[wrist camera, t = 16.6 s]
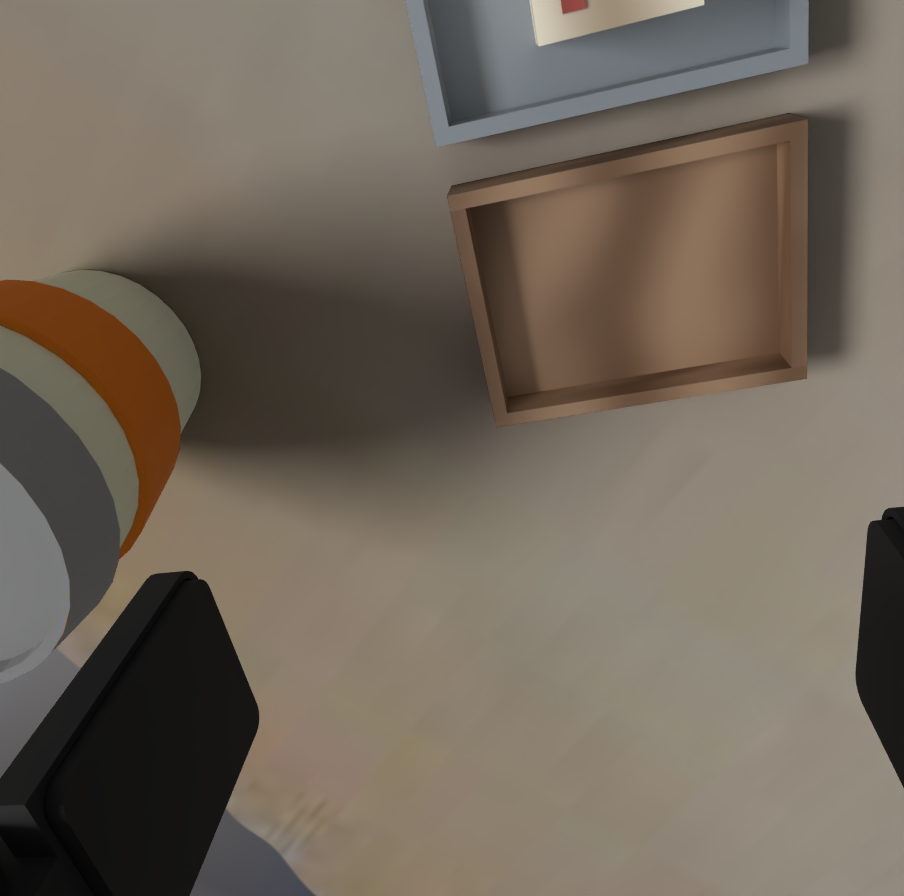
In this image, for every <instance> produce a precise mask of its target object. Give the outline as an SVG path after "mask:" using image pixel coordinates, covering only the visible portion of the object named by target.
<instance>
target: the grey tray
mask: <svg viewBox="0 0 904 896" xmlns="http://www.w3.org/2000/svg"><path fill="white" fill-rule="evenodd" d="M405 2H406V7H407V11H408V16H409V21H410V25H411V30H412V35H413V40H414V44H415V49H416V54H417V58H418V63H419V68H420V72H421V77H422V82H423V86H424V91H425V96H426V100H427V105H428V110H429V114H430V119H431V124H432V129H433V133H434V138H435V143H436V147H440V146H445V145H449V144H454V143H458V142H463V141H467V140H471V139H476V138H480V137H485V136H489V135H494V134H498V133H503V132H507V131H511V130H516V129H520V128H525V127H529V126H534V125H538V124H543V123H547V122H551V121H556V120H560V119H565V118H569V117H574V116H578V115H582V114H587V113H591V112H596V111H600V110H605V109H609V108H614V107H618V106H622V105H627V104H631V103H636V102H640V101H645V100H649V99H654V98H658V97H662V96H667V95H671V94H676V93H680V92H685V91H689V90H694V89H698V88H702V87H707V86H711V85H716V84H720V83H725V82H729V81H734V80H738V79H742V78H747V77H751V76H756V75H760V74H765V73H769V72H774V71H778V70H782V69H787V68H791V67H796V66H800V65H805V64H808V19H809V0H704V5H702V6H698V7H694V8H690V9H686V10H682V11H678V12H674V13H670V14H666V15H662V16H658V17H654V18H650V19H646V20H642V21H638V22H634V23H631V24H627V25H623V26H619V27H615V28H611V29H607V30H603V31H599V32H595V33H591V34H587V35H583V36H579V37H575V38H571V39H567V40H563V41H559V42H555V43H551V44H547V45H543V46H538V45H537V44H536V40H535V34H534V27H533V21H532V14H531V7H530V1H529V0H405Z"/></svg>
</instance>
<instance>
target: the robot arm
mask: <svg viewBox="0 0 904 896" xmlns="http://www.w3.org/2000/svg"><path fill="white" fill-rule="evenodd" d="M856 684H857V689H858V693H859V696H860V699H861V701H862V704H863V706H864V708H865V710H866V712H867V714H868V716H869V718H870V720H871V722H872V724H873V726H874V728H875V730H876V732H877V734H878V736H879V738H880V740H881V742H882V745H883V747H884V749H885V751H886V753H887V755H888V757H889V759H890V761H891V763H892V765H893V767H894V769H895V771H896V773H897V775H898V777H899V779H900V781H901V783H902V785H903V787H904V507H896V508H888V509H886V510H885V511H884V513H883V515H882V520H876V521H872V522H870V524H869V526H868V533H867V544H866V556H865V568H864V580H863V591H862V603H861V615H860V627H859V638H858V650H857V662H856ZM258 725H259V709H258V706H257V703H256V701H255V698H254V696H253V693H252V691H251V688H250V686H249V683H248V681H247V678H246V676H245V674H244V671H243V669H242V666H241V664H240V661H239V659H238V656H237V654H236V651H235V649H234V646H233V644H232V642H231V639H230V637H229V634H228V632H227V629H226V627H225V624H224V622H223V619H222V617H221V614H220V612H219V610H218V607H217V605H216V602H215V600H214V597H213V595H212V592H211V590H210V587H209V586H208V584H207V582H205V581H204V580H201V579H199V580H198V578H197V576H196V575H195V574H194V573H193V572H190V571H181V572H170V573H159V574H154V575H151V576H150V577H149V578H148V579H147V580H146V581H145V582H144V584H143V585H142V586H141V588H140V589H139V591H138V592H137V593H136V595H135V596H134V597H133V599H132V600H131V601H130V603H129V604H128V605H127V607H126V608H125V610H124V611H123V612H122V614H121V615H120V616H119V618H118V619H117V620H116V622H115V623H114V625H113V626H112V627H111V629H110V630H109V631H108V633H107V634H106V635H105V637H104V638H103V639H102V641H101V642H100V644H99V645H98V646H97V648H96V649H95V650H94V652H93V653H92V654H91V656H90V657H89V659H88V660H87V661H86V663H85V664H84V665H83V667H82V668H81V669H80V671H79V672H78V673H77V675H76V676H75V678H74V679H73V680H72V682H71V683H70V684H69V686H68V687H67V689H66V690H65V691H64V693H63V694H62V695H61V697H60V698H59V699H58V701H57V702H56V704H55V705H54V706H53V707H52V709H51V710H50V712H49V713H48V714H47V716H46V717H45V718H44V720H43V721H42V723H41V724H40V725H39V727H38V728H37V729H36V731H35V732H34V733H33V735H32V736H31V738H30V739H29V740H28V742H27V743H26V744H25V746H24V747H23V749H22V750H21V751H20V752H19V754H18V755H17V757H16V758H15V759H14V761H13V762H12V763H11V765H10V766H9V767H8V769H7V770H6V771H5V773H4V774H3V776H2V777H1V778H0V896H190V893H191V891H192V888H193V886H194V883H195V881H196V879H197V876H198V874H199V871H200V869H201V866H202V864H203V862H204V859H205V857H206V854H207V852H208V849H209V847H210V844H211V842H212V840H213V837H214V835H215V832H216V830H217V828H218V825H219V823H220V820H221V818H222V815H223V813H224V811H225V808H226V806H227V803H228V801H229V798H230V796H231V793H232V791H233V789H234V786H235V784H236V781H237V779H238V776H239V774H240V772H241V769H242V767H243V764H244V762H245V759H246V757H247V755H248V752H249V750H250V747H251V745H252V742H253V740H254V738H255V735H256V733H257V729H258Z"/></svg>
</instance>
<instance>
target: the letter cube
mask: <svg viewBox="0 0 904 896" xmlns="http://www.w3.org/2000/svg"><path fill="white" fill-rule="evenodd" d="M529 1H530V7H531V14H532V21H533V27H534V34H535V40H536V44H537V45H538V46H543V45H547V44H551V43H555V42H559V41H563V40H567V39H571V38H575V37H579V36H583V35H587V34H591V33H595V32H599V31H603V30H607V29H611V28H615V27H619V26H623V25H627V24H631V23H634V22H638V21H642V20H646V19H650V18H654V17H658V16H662V15H666V14H670V13H674V12H678V11H682V10H686V9H690V8H694V7H698V6H702V5H704V0H529Z"/></svg>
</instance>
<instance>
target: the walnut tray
mask: <svg viewBox="0 0 904 896" xmlns="http://www.w3.org/2000/svg"><path fill="white" fill-rule="evenodd" d="M447 199H448V203H449V208H450V213H451V217H452V222H453V227H454V232H455V236H456V241H457V246H458V250H459V255H460V260H461V264H462V269H463V274H464V278H465V283H466V288H467V292H468V297H469V302H470V306H471V311H472V316H473V321H474V325H475V330H476V335H477V339H478V344H479V349H480V353H481V358H482V363H483V367H484V372H485V377H486V381H487V386H488V391H489V395H490V400H491V405H492V409H493V414H494V419H495V424H496V427H501V426H507V425H514V424H520V423H527V422H533V421H539V420H546V419H552V418H559V417H565V416H571V415H578V414H584V413H590V412H597V411H603V410H610V409H616V408H622V407H629V406H635V405H642V404H648V403H654V402H661V401H667V400H674V399H680V398H686V397H693V396H699V395H706V394H712V393H718V392H725V391H731V390H738V389H744V388H750V387H757V386H763V385H770V384H776V383H782V382H789V381H795V380H802V379H807V255H808V119H806V118H803V117H799V116H796V115H793V114H790V113H787V114H783V115H778V116H774V117H769V118H764V119H760V120H755V121H750V122H746V123H741V124H736V125H732V126H727V127H722V128H718V129H713V130H708V131H704V132H699V133H695V134H690V135H685V136H681V137H676V138H671V139H667V140H662V141H657V142H653V143H648V144H643V145H639V146H634V147H629V148H625V149H620V150H616V151H611V152H606V153H602V154H597V155H592V156H588V157H583V158H578V159H574V160H569V161H564V162H560V163H555V164H550V165H546V166H541V167H537V168H532V169H527V170H523V171H518V172H513V173H509V174H504V175H499V176H495V177H490V178H485V179H481V180H476V181H471V182H467V183H462V184H458V185H453V186H451V188H450V190H449V193H448V195H447Z"/></svg>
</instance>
